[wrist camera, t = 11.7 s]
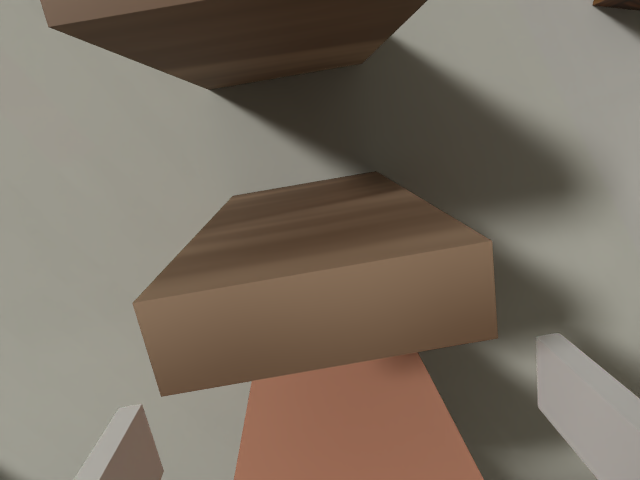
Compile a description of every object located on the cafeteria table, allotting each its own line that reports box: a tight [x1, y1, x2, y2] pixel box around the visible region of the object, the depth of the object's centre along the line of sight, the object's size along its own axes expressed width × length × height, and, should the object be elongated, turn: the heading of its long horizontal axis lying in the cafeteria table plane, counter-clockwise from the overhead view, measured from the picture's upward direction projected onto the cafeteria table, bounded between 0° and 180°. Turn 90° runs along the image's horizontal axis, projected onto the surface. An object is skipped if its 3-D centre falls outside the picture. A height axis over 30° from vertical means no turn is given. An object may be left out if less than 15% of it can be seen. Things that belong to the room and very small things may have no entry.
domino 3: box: [234, 352, 484, 480], centre depth 14 cm, size 2×6×11 cm, turn 100°
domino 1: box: [40, 0, 427, 90], centre depth 11 cm, size 2×6×11 cm, turn 100°
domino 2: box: [133, 171, 498, 397], centre depth 13 cm, size 2×6×11 cm, turn 100°
